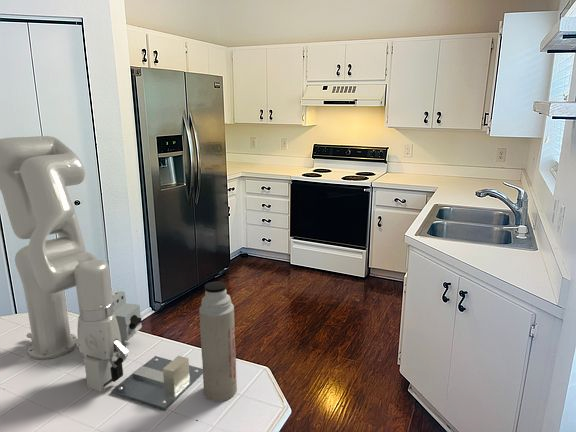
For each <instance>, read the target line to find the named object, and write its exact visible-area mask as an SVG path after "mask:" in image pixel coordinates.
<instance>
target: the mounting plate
mask: <svg viewBox="0 0 576 432" xmlns="http://www.w3.org/2000/svg"><path fill="white" fill-rule="evenodd" d="M189 363H190V362H189V357H185V356H182V355H177V356H176V357H175V358H174V359H173V360H172V359H169V358H164V357H160V356H157V355H155V356H154V357H152V358H150V359H149V360H148V361H147V362H146V363H145V364H143V365H141V366H140V367H138V369H136V370H135V371H134V372H132V374H130V375H129V376H128V377H126V378H125V379H124V380H123V381H121V382H120V383H119V384H117V385H116V386H114V388H112V389H111V390H110V393H111V394H113V395H116V396H119V397H122V398H125V399H128V400H131V401H134V402H138V403H140V404H144V405H146V406H149V407H151V408H155V409H159V410H160V411H161V410H162V411H164V412H165V411H166V410H168V408H170V407H171V405H173V404H174V403H175V402H176V401H177V400H178V399H179V398H180V397H181V396H182V394H184V393H185V392H186V391H187V390H188V389H189V388H190V387H191V386H192V385H193V384H194V383H195V382H196V381H197V380H198V379H199V378H200V377H201V376H203V368H201V367H196V366H193V365H190V364H189Z"/></svg>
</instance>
